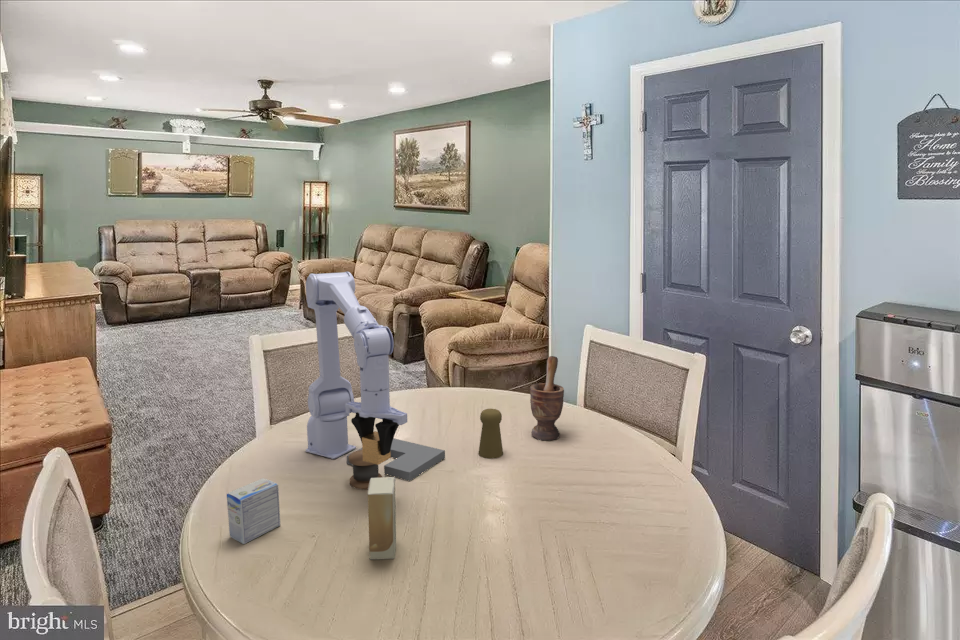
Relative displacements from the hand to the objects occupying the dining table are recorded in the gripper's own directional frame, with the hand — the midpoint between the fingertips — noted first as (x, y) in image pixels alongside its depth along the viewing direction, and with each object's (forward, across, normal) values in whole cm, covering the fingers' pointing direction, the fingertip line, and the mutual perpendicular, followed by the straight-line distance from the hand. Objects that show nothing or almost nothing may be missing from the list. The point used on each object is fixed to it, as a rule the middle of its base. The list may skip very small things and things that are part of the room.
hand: (376, 451), depth 123 cm
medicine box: (+10, -10, -23) cm, 27 cm away
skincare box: (+10, +14, -16) cm, 23 cm away
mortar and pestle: (+10, +16, +49) cm, 53 cm away
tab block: (+2, 0, 0) cm, 2 cm away
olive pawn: (+10, +10, +30) cm, 33 cm away
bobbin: (+9, -6, +3) cm, 12 cm away
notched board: (+9, -7, +15) cm, 19 cm away
